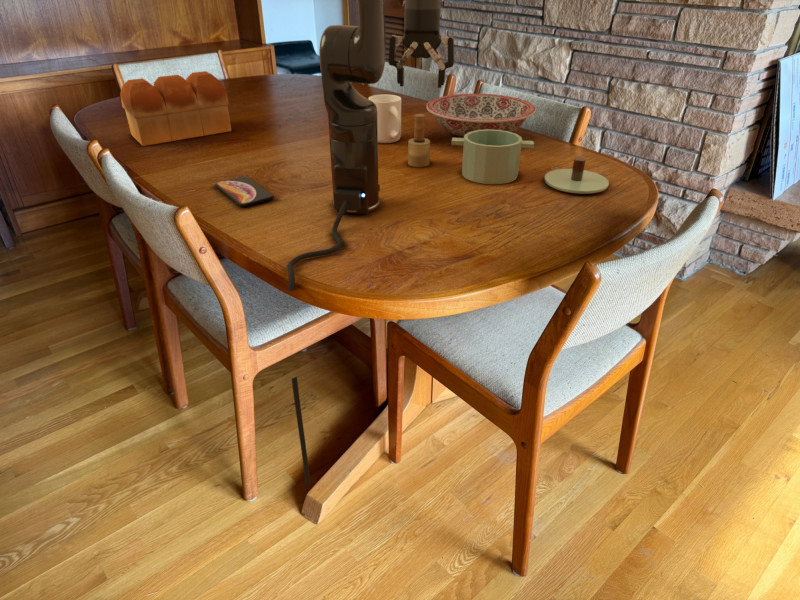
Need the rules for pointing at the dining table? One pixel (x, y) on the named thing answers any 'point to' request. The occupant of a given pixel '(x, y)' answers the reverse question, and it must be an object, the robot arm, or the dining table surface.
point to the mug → (388, 117)
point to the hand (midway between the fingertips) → (420, 86)
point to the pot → (491, 155)
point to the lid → (576, 179)
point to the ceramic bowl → (480, 112)
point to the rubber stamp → (419, 144)
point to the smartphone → (244, 191)
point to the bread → (175, 107)
